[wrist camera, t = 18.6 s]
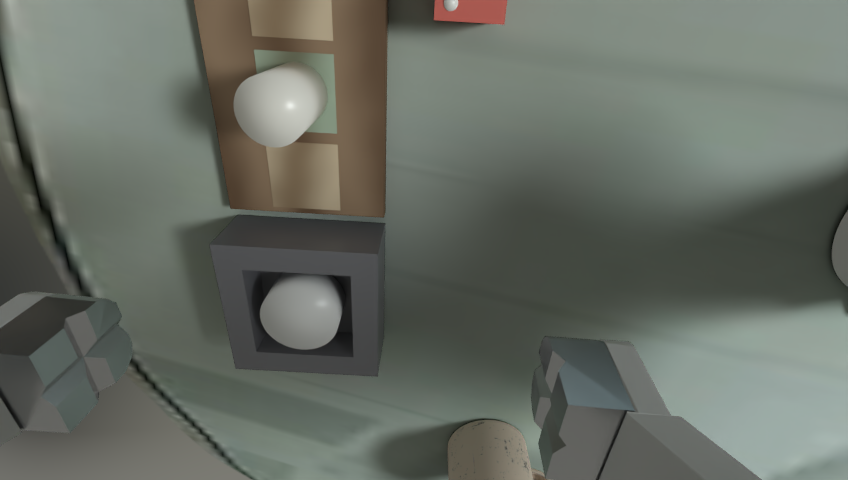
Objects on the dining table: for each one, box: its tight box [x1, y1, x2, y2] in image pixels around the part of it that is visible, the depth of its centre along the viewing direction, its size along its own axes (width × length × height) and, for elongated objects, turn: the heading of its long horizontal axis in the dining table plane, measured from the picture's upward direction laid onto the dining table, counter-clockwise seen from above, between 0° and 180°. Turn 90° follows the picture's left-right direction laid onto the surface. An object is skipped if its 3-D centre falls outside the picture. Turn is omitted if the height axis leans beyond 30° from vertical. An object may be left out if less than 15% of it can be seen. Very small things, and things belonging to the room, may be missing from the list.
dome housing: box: [209, 215, 385, 376], centre depth 35 cm, size 12×12×5 cm
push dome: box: [260, 272, 345, 350], centre depth 34 cm, size 6×6×3 cm
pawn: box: [234, 62, 328, 147], centre depth 26 cm, size 4×4×6 cm
